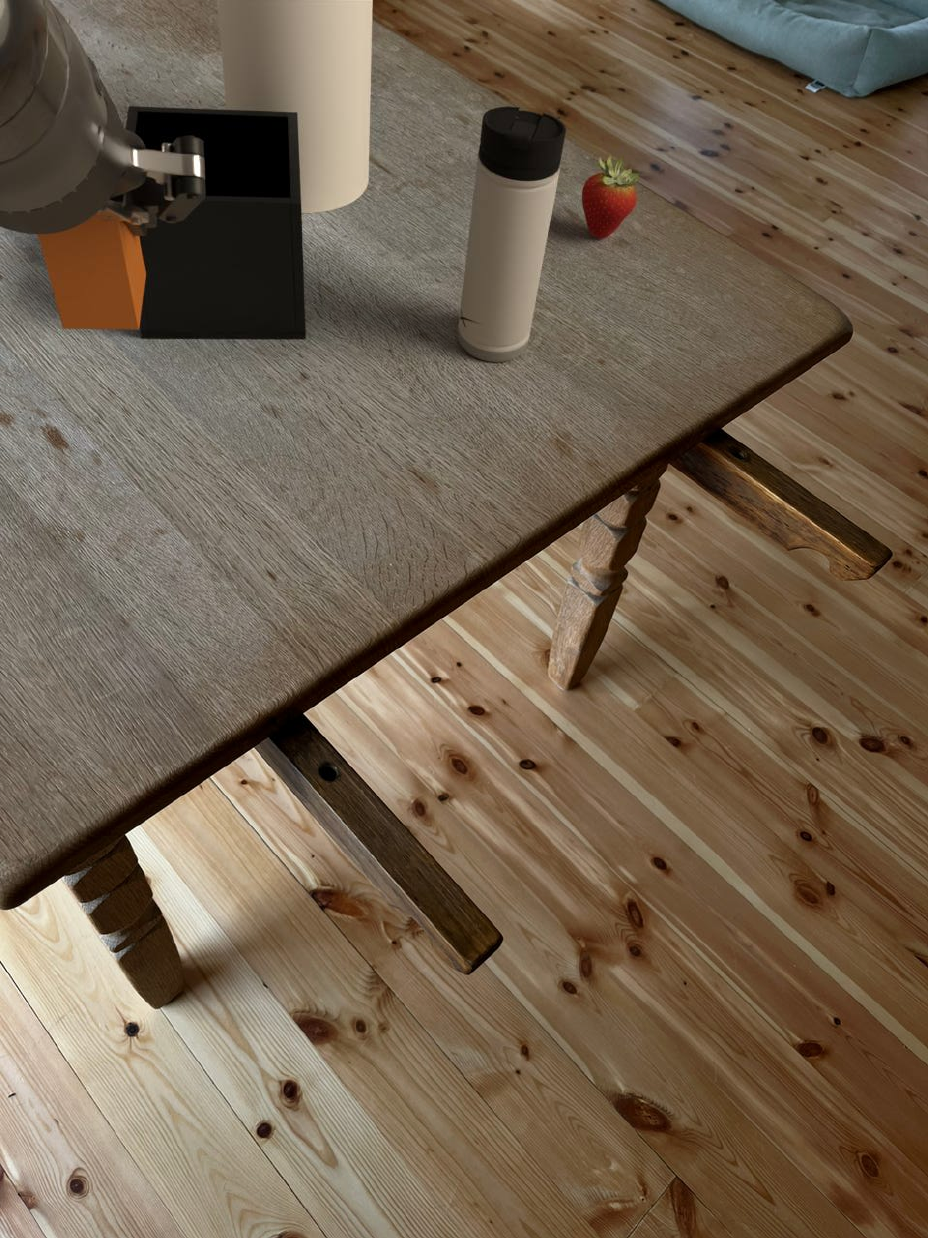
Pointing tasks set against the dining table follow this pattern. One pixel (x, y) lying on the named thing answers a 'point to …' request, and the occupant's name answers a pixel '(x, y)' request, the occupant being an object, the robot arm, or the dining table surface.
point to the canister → (307, 84)
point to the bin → (228, 230)
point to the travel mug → (508, 230)
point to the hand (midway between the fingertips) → (95, 214)
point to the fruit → (608, 198)
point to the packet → (96, 275)
